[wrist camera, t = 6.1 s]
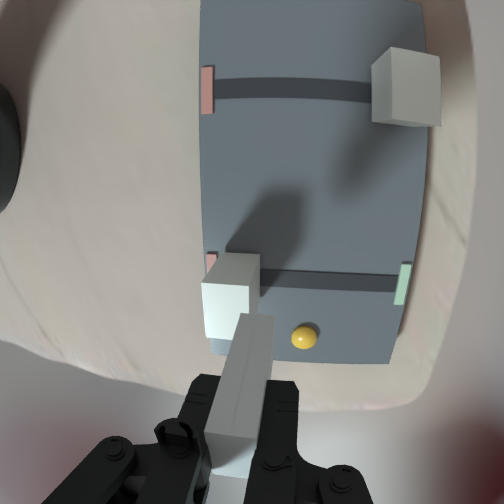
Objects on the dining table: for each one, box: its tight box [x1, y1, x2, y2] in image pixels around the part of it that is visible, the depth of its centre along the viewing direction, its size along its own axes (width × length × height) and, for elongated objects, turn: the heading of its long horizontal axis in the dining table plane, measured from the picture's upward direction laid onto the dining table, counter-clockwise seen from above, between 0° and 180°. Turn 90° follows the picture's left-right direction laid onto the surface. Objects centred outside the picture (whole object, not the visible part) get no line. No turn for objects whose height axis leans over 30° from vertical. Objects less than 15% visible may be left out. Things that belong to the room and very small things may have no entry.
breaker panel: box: [199, 0, 428, 364], centre depth 20 cm, size 26×14×2 cm, turn 0°
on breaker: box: [371, 47, 441, 127], centre depth 14 cm, size 4×2×4 cm
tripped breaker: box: [201, 252, 260, 340], centre depth 19 cm, size 4×2×4 cm
